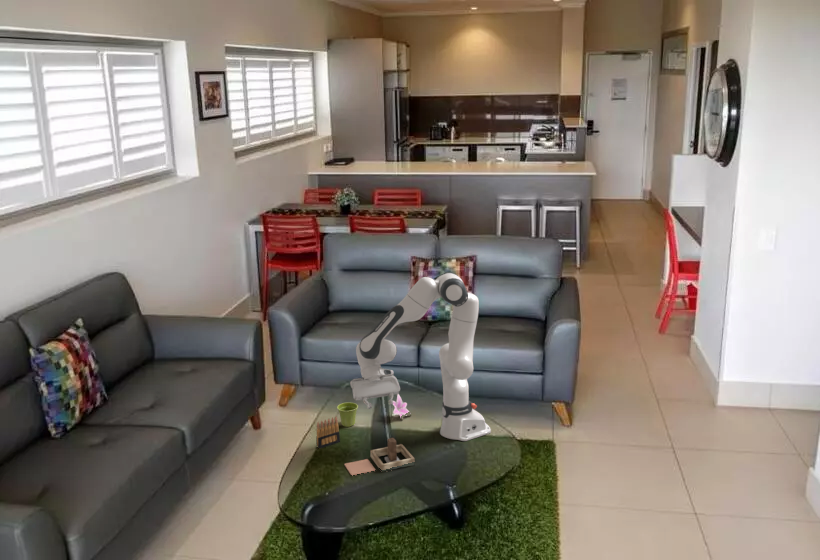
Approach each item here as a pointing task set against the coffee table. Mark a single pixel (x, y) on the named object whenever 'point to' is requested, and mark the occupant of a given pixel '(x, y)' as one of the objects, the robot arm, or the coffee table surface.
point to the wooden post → (392, 451)
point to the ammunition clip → (327, 433)
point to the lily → (400, 406)
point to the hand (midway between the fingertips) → (380, 406)
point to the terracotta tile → (359, 467)
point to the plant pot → (347, 413)
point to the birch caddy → (384, 451)
